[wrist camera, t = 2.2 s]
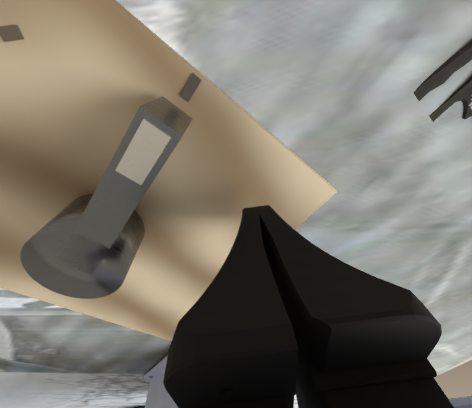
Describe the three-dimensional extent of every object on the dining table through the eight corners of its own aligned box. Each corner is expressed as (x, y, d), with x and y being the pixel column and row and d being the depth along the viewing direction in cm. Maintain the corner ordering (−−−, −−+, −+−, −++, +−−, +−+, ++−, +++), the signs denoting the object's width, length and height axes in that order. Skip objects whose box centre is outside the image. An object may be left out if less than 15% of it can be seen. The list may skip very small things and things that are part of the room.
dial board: (174, 323, 20) (171, 342, 19) (-83, 234, 14) (-116, 253, 12) (325, 180, 13) (338, 192, 12) (-40, -132, 7) (-104, -182, 6)
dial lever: (126, 263, 13) (102, 310, 11) (54, 233, 12) (7, 279, 9) (217, 137, 10) (216, 162, 7) (131, 72, 8) (91, 73, 6)
